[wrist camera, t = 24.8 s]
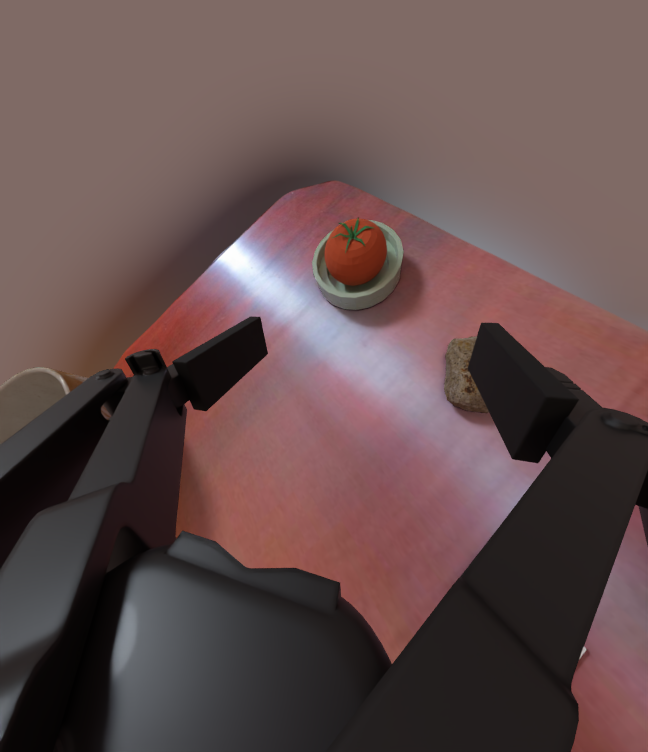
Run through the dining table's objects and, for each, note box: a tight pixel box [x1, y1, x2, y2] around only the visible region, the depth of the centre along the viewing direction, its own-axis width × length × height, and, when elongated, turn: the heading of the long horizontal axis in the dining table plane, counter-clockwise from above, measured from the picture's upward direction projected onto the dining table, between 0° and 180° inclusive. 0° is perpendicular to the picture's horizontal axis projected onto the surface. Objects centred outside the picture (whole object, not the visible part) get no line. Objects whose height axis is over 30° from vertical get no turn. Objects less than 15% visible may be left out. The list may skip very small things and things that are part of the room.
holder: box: [312, 220, 403, 310], centre depth 41 cm, size 15×15×4 cm
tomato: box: [325, 217, 387, 286], centre depth 38 cm, size 10×10×10 cm
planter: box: [0, 367, 111, 444], centre depth 38 cm, size 19×19×16 cm
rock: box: [444, 336, 489, 413], centre depth 33 cm, size 8×11×4 cm
